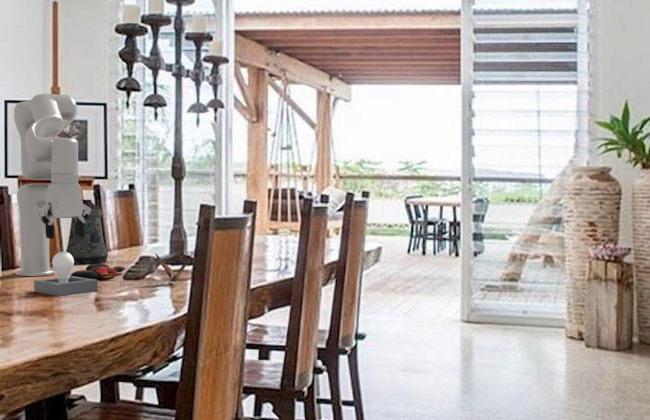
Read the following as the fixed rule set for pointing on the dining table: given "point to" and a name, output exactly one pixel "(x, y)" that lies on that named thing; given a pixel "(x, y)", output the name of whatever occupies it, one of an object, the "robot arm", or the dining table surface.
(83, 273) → the toy motorcycle
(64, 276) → the lightbulb
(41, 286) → the socket tray
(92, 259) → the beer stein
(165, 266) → the butterfly
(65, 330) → the dining table surface
